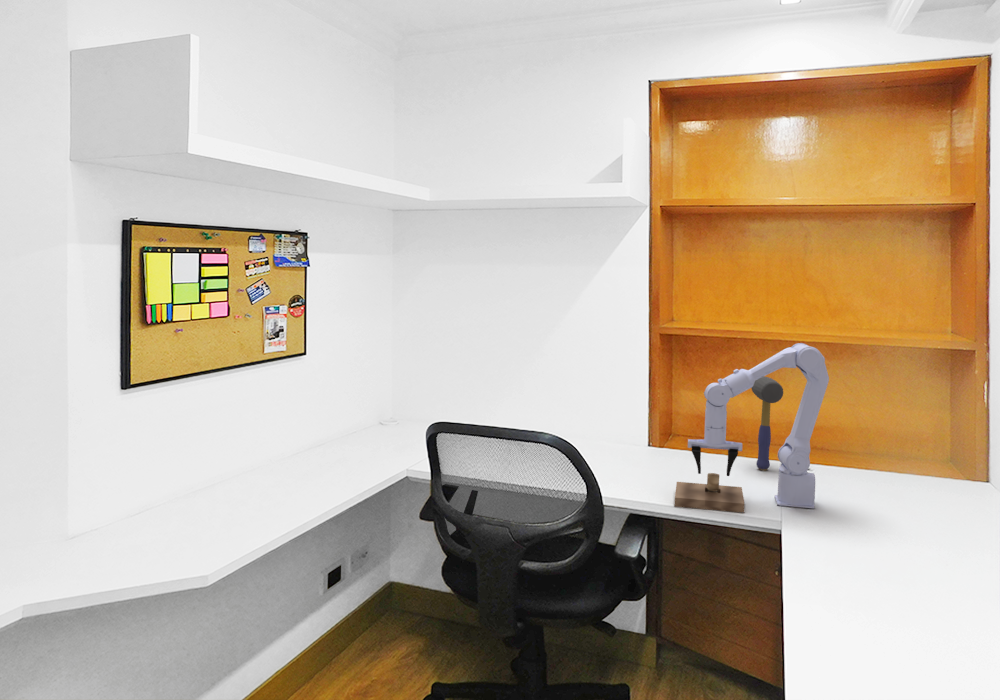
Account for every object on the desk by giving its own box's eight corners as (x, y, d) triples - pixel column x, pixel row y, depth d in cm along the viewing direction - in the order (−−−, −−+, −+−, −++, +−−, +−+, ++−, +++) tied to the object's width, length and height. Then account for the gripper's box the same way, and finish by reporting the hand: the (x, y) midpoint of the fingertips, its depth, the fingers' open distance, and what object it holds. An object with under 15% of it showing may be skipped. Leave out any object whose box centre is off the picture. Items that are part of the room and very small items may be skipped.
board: (741, 495, 205) (741, 487, 205) (744, 512, 191) (744, 503, 191) (676, 489, 210) (676, 481, 210) (674, 506, 196) (674, 497, 196)
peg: (718, 497, 203) (719, 473, 202) (718, 501, 200) (719, 476, 199) (706, 496, 204) (707, 472, 204) (706, 500, 201) (707, 475, 201)
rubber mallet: (780, 475, 225) (786, 381, 221) (756, 475, 226) (761, 380, 222) (768, 464, 237) (773, 374, 234) (745, 464, 238) (750, 374, 234)
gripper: (742, 424, 202) (740, 472, 203) (688, 421, 206) (687, 468, 207) (743, 430, 195) (741, 479, 196) (688, 427, 199) (686, 474, 200)
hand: (713, 473), depth 201 cm, fingers open, 7 cm apart
